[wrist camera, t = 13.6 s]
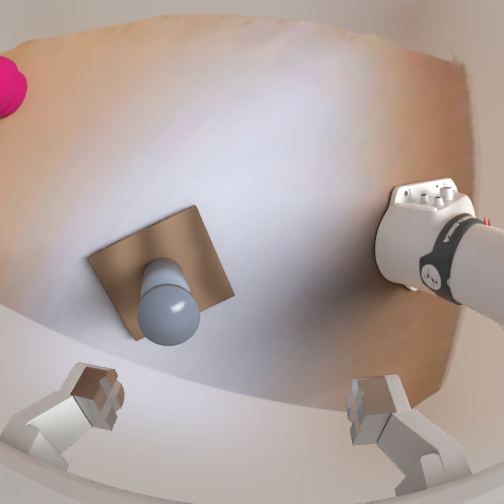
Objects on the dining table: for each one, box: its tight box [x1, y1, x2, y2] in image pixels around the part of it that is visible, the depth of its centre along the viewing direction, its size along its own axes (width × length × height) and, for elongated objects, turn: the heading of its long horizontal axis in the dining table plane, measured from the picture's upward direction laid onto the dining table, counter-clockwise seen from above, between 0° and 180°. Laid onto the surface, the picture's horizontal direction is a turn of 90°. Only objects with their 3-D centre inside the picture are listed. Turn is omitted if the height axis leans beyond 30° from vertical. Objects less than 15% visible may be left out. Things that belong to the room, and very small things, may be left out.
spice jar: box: [137, 257, 200, 346], centre depth 31 cm, size 5×5×11 cm
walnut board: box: [88, 205, 235, 341], centre depth 37 cm, size 14×12×2 cm
